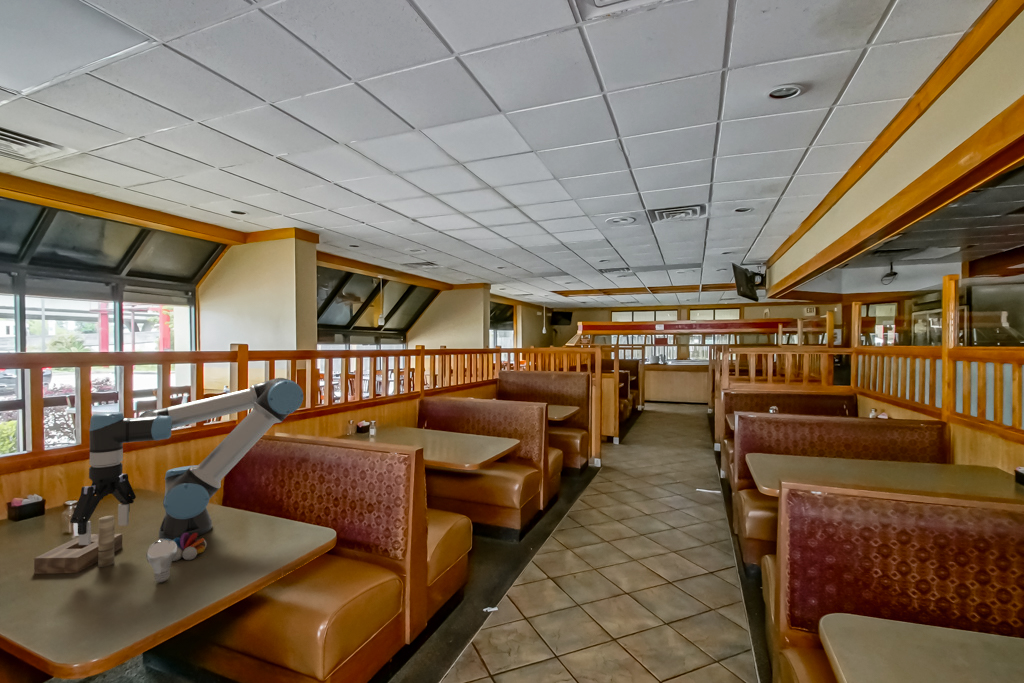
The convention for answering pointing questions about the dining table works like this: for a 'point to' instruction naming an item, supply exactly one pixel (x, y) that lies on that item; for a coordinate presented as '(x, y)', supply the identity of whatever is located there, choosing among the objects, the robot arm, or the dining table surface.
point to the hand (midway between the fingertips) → (104, 534)
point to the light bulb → (161, 557)
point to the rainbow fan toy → (189, 546)
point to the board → (71, 556)
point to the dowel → (106, 541)
